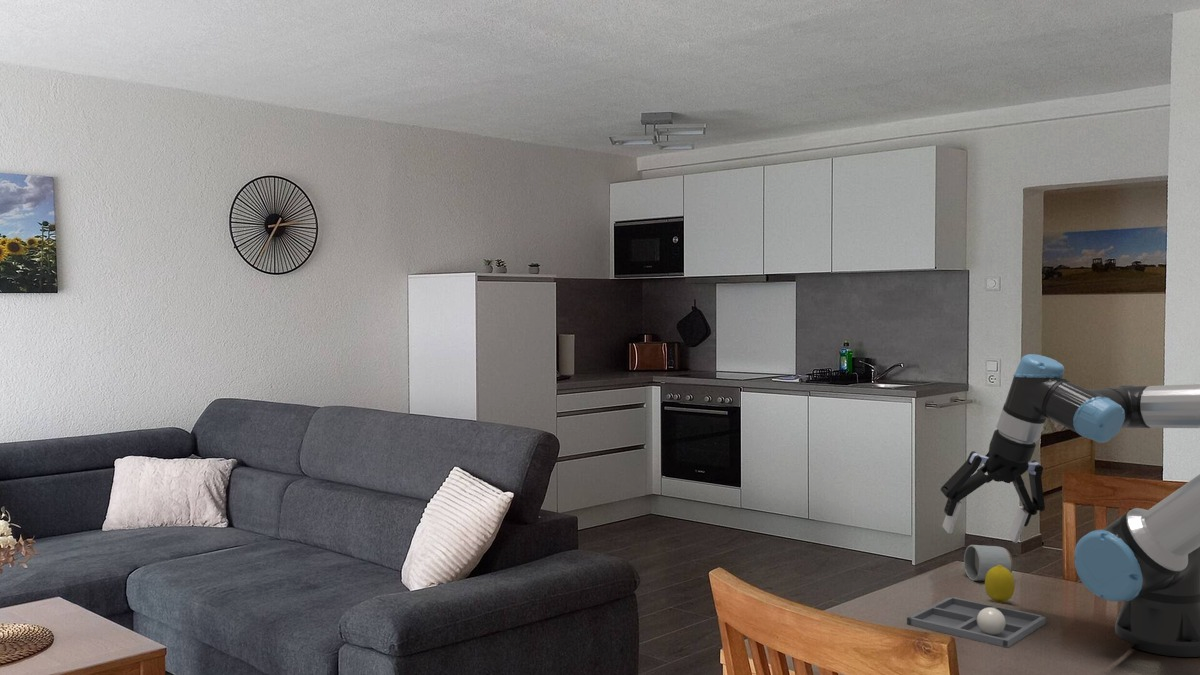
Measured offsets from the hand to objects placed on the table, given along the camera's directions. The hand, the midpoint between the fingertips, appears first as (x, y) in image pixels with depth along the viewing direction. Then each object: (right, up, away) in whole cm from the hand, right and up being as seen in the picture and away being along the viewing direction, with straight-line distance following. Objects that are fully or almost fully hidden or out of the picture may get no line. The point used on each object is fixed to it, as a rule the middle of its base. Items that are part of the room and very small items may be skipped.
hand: (979, 534), depth 186 cm
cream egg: (-3, -15, -13) cm, 20 cm away
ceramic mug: (+12, -15, +27) cm, 33 cm away
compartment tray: (-3, -16, -7) cm, 18 cm away
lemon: (+7, -16, +8) cm, 19 cm away
